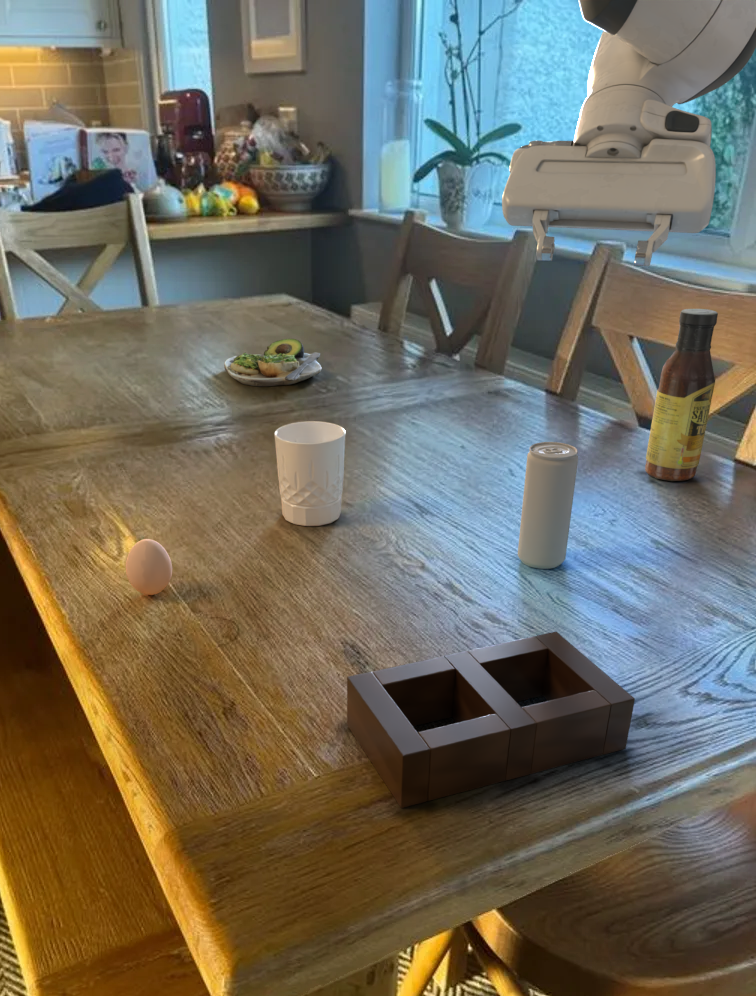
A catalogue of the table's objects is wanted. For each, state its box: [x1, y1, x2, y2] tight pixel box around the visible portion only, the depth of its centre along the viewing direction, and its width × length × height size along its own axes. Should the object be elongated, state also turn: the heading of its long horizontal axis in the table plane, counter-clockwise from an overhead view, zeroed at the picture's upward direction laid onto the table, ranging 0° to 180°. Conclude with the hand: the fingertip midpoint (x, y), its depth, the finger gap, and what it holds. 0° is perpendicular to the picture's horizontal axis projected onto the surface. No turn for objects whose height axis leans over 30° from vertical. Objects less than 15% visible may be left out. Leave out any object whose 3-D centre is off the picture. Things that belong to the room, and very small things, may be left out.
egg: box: [125, 538, 173, 596], centre depth 88 cm, size 4×4×6 cm
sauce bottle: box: [644, 308, 719, 482], centre depth 109 cm, size 7×6×20 cm
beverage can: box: [517, 441, 579, 570], centre depth 90 cm, size 5×5×12 cm
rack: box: [346, 631, 636, 809], centre depth 67 cm, size 18×10×4 cm, turn 109°
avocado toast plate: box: [223, 338, 323, 387], centre depth 158 cm, size 19×18×5 cm
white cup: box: [273, 420, 346, 527], centre depth 102 cm, size 8×8×10 cm
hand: (592, 259), depth 89 cm, fingers open, 8 cm apart
